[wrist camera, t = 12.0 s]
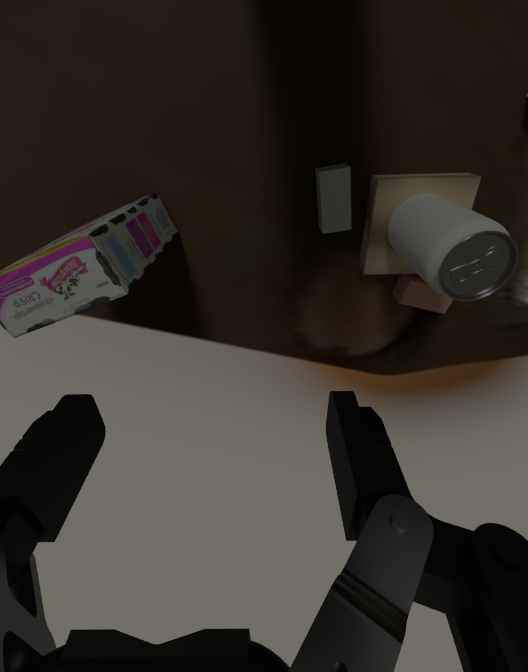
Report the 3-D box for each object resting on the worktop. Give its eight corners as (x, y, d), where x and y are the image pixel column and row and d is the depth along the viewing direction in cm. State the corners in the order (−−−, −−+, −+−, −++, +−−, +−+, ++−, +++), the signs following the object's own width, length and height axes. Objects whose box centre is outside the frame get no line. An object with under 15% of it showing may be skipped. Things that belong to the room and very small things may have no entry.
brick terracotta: (391, 292, 42) (399, 303, 40) (401, 270, 41) (410, 280, 38) (433, 302, 43) (444, 313, 41) (446, 281, 42) (457, 292, 39)
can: (456, 235, 36) (531, 281, 26) (397, 265, 38) (446, 319, 28) (439, 178, 33) (517, 206, 23) (376, 214, 34) (422, 254, 24)
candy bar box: (156, 187, 35) (88, 232, 22) (180, 231, 38) (132, 296, 24) (71, 226, 38) (-40, 290, 24) (98, 266, 40) (13, 343, 27)
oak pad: (371, 175, 35) (378, 179, 33) (468, 172, 35) (481, 176, 33) (358, 266, 40) (363, 274, 38) (442, 264, 40) (451, 272, 38)
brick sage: (315, 167, 35) (319, 171, 32) (344, 163, 34) (350, 166, 32) (318, 226, 38) (322, 233, 35) (345, 222, 38) (351, 229, 35)
